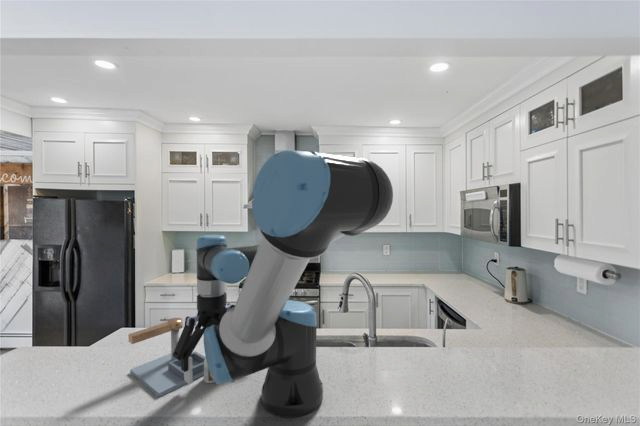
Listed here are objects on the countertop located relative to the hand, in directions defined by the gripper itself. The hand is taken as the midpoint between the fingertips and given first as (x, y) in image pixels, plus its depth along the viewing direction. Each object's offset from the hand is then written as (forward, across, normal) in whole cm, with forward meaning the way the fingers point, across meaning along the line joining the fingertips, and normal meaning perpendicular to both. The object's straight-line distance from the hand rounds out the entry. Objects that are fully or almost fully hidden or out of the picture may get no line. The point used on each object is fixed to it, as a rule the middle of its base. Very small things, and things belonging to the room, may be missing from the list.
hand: (212, 369), depth 82 cm
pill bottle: (+3, 0, 0) cm, 3 cm away
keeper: (-8, +7, -16) cm, 19 cm away
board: (+2, +5, -12) cm, 13 cm away
